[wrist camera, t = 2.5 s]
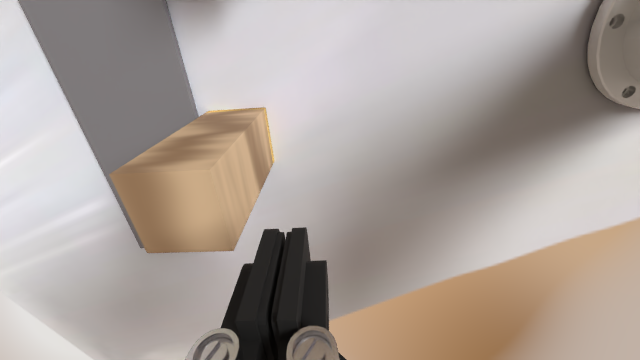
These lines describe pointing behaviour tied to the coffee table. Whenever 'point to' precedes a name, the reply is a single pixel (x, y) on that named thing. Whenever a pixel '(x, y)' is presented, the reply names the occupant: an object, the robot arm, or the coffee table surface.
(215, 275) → the coffee table surface
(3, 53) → the coffee table surface
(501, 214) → the coffee table surface
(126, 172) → the oak block
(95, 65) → the mat
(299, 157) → the coffee table surface
